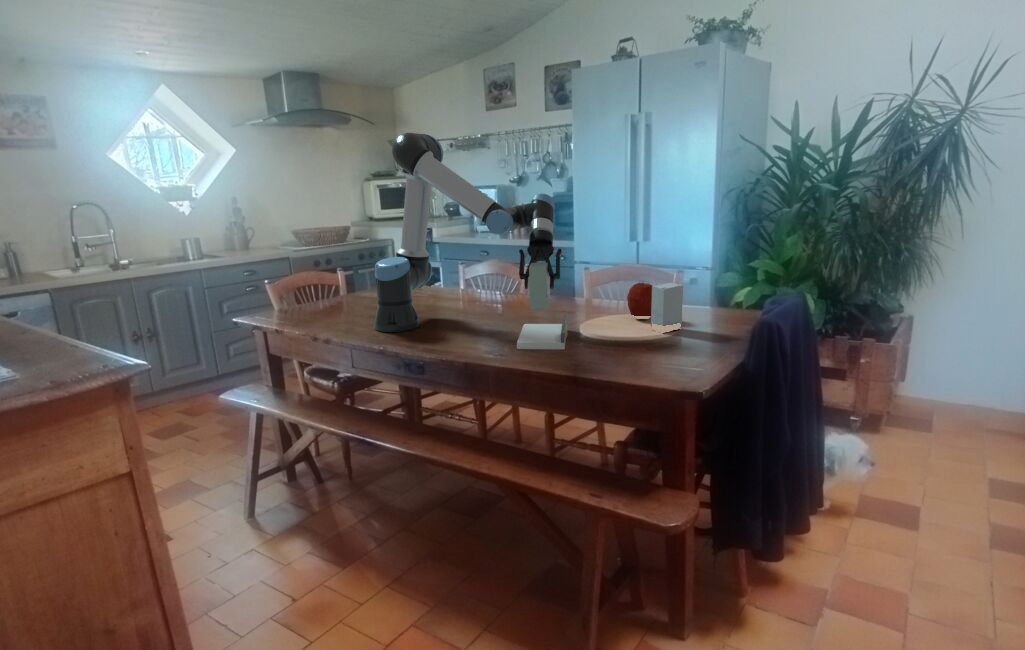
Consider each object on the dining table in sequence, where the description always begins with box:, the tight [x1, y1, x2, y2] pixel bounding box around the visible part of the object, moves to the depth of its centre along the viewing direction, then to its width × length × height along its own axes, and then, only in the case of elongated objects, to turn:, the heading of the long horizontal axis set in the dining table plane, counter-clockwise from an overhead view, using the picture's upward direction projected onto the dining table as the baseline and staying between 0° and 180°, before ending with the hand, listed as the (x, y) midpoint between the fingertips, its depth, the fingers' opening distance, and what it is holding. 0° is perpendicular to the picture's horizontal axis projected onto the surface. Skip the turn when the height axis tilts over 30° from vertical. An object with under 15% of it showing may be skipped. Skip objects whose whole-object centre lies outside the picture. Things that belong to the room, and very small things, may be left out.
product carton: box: [529, 262, 550, 311], centre depth 180 cm, size 5×8×13 cm, turn 173°
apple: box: [626, 282, 654, 316], centre depth 203 cm, size 10×10×14 cm
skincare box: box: [650, 282, 684, 326], centre depth 188 cm, size 8×6×15 cm
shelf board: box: [516, 314, 568, 350], centre depth 184 cm, size 15×22×5 cm, turn 173°
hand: (538, 296), depth 178 cm, fingers closed on product carton, 5 cm apart
